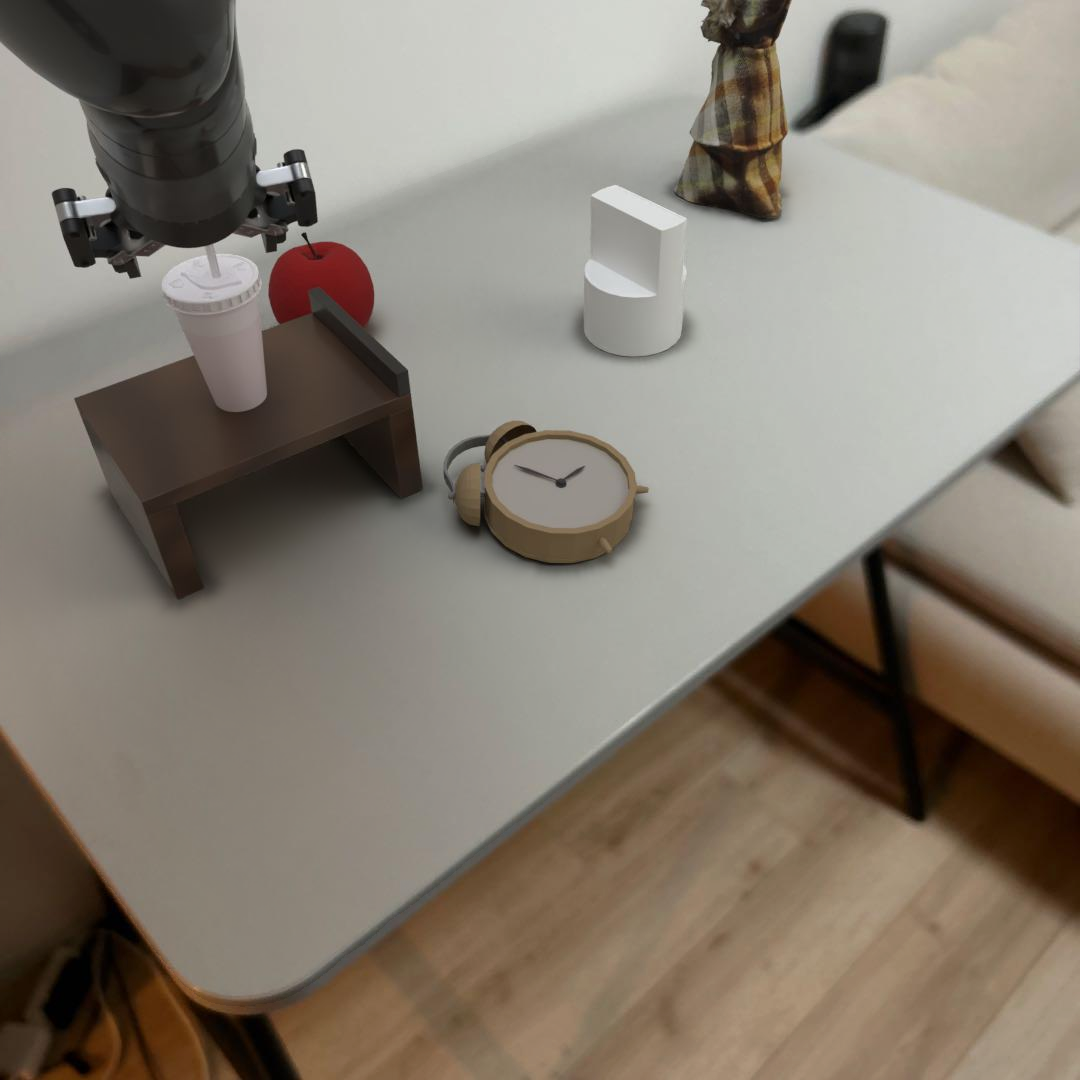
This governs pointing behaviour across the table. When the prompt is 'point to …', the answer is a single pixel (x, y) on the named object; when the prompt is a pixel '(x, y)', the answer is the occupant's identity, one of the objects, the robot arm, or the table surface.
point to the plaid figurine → (740, 112)
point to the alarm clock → (547, 492)
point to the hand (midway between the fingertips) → (200, 250)
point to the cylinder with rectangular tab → (634, 274)
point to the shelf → (249, 426)
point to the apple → (320, 281)
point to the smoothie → (222, 324)
